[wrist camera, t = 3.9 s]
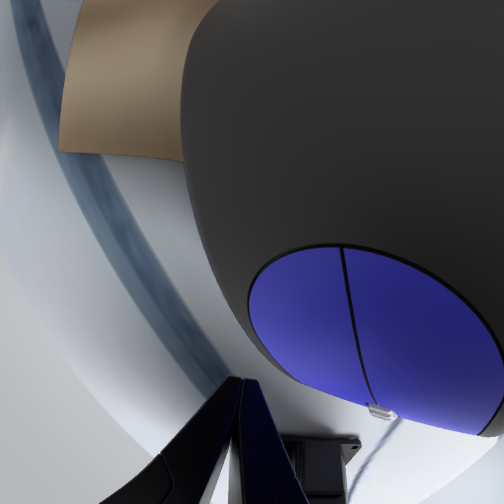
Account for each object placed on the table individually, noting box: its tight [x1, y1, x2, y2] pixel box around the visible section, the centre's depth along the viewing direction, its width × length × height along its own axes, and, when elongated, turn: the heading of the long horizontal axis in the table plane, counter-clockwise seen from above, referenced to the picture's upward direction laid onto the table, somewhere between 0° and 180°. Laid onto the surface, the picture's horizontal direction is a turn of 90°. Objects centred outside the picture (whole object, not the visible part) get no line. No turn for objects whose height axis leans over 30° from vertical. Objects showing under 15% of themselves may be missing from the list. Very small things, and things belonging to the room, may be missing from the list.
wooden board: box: [58, 0, 220, 161], centre depth 9 cm, size 12×20×1 cm, turn 81°
